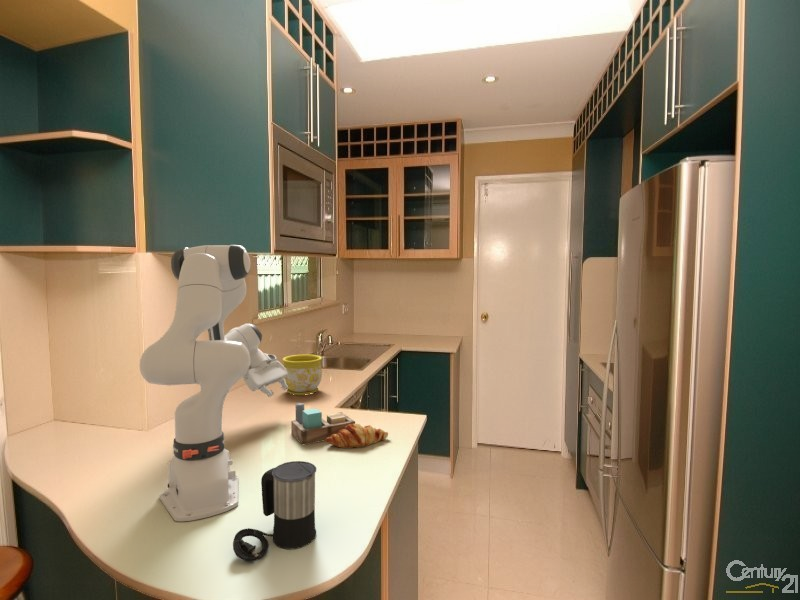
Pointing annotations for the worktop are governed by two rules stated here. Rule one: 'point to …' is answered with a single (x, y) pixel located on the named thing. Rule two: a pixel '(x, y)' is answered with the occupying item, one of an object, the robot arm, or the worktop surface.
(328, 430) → the tray
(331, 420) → the oak block
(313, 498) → the milk frother
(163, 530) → the worktop surface
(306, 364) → the flowerpot
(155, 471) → the worktop surface
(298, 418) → the block
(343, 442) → the croissant
